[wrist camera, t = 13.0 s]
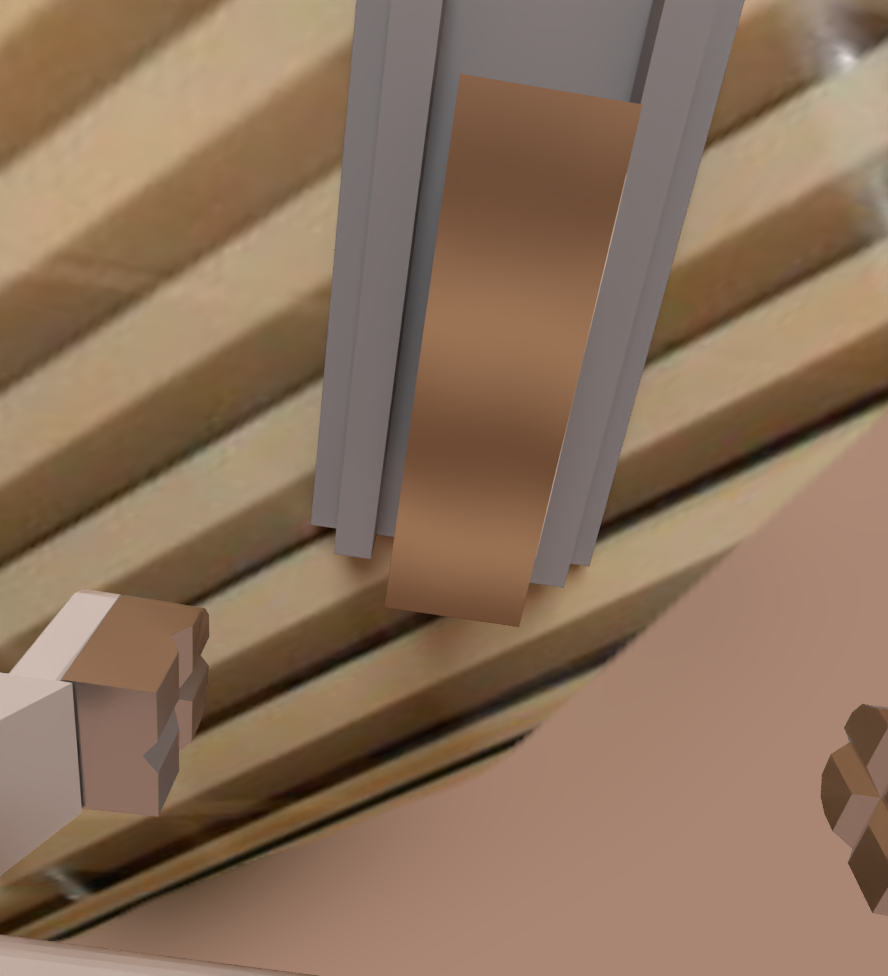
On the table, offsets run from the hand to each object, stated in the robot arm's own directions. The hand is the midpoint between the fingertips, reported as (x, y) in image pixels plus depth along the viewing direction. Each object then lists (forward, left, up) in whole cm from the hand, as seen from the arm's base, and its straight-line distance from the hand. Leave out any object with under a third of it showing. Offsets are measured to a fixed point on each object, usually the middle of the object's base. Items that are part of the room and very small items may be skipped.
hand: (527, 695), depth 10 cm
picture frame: (0, 0, -21) cm, 21 cm away
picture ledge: (0, 0, -23) cm, 23 cm away
